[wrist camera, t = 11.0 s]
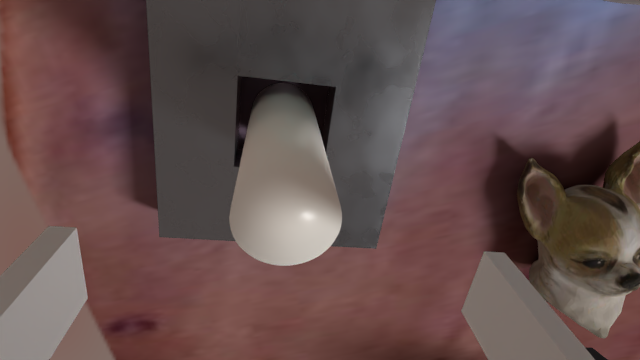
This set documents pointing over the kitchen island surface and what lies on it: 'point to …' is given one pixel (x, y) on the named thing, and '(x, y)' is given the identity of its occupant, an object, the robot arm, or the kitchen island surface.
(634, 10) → the kitchen island surface
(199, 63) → the block
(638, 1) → the cup
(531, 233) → the ceramic sculpture
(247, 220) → the white tapered capsule
